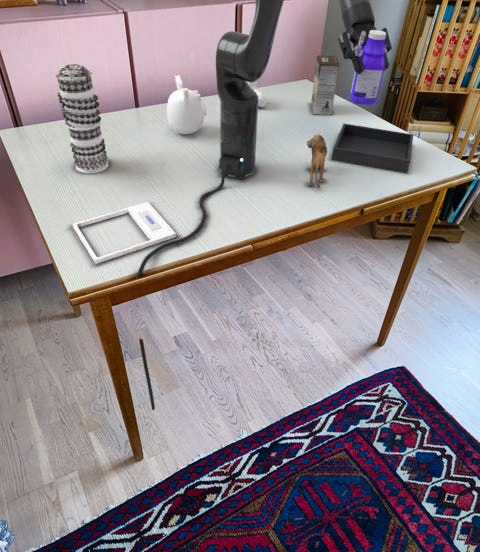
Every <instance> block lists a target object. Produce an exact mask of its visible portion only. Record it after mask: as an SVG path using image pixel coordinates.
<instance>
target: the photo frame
mask: <svg viewBox="0 0 480 552" xmlns="http://www.w3.org/2000/svg"><path fill="white" fill-rule="evenodd" d="M125 214H129V216H130V217H131V218H132V219H133V220H134V222H135V223H136V224H137V225H138V227H139V228H140V229H141V230H142V232H143V233H144V234H145V235H146V237H147V238H148V240H146V241H143V242H140V243H137V244H134V245H131V246H127V247H125V248H122V249H119V250H116V251H112V252H110V253H106V254H103V255H101V256H97V255H96V254H95V252H94V250H93V249H92V247H91V245H90V243H88V240H87V239H86V237H85V236H84V234H83V233H82V231H81V230H80V228H81V227H85V226H88V225H91V224H95V223H98V222H102V221H105V220H108V219H112V218H115V217H119V216H122V215H125ZM71 225H72V228H73V230H74V231H75V233H76V234H77V236H78V238H79V239H80V241H81V242H82V244H83V246H84V247H85V249H86V251H87V252H88V254H89V256H90V257H91V258H92V260H93V262H94V264H95V265H97V264H100V263H103V262H106V261H110V260H111V259H114V258H117V257H120V256H123V255H124V256H125V255H127V254H130V253H132V252H135V251H139V250H141V249H144V248H147V247H150V246H153V245H156V244H160V243H162V242H165V241H168V240H172V239H174V238H176V237H177V233H176V232H175V231H174V229H173V228H172V227H171V226H170V225H169V224H168V223H167V221H166V220H165V219H164V218H163V217H162V216H161V215H160V214H159V212H158V211H157V210H156V209H155V208H154V207H153V206H152V205H151V203H150V202H149V201H145V202H142V203H138V204H135V205H132V206H128V207H125V208H123V209H121V208H120V209H118V210H115V211H112V212H108V213H105V214H101V215H98V216H94V217H92V218H87V219H84V220H80V221H78V222H74V223H72V224H71Z"/></svg>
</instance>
